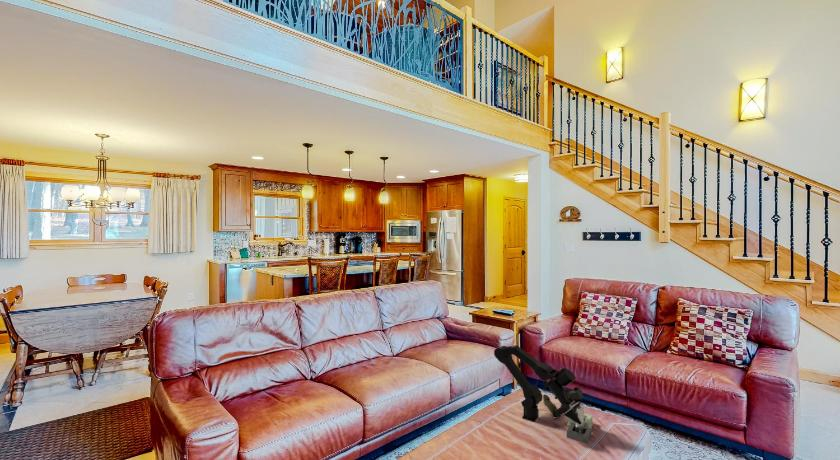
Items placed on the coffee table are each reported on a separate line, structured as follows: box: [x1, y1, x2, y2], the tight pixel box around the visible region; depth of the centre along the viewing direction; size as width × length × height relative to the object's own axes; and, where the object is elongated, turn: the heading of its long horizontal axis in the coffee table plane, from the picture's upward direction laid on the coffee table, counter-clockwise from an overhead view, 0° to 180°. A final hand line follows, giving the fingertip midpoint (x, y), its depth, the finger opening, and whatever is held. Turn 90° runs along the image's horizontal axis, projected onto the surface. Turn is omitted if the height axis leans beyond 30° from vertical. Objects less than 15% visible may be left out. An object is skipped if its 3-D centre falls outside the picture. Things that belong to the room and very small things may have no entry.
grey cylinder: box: [575, 405, 585, 434], centre depth 176 cm, size 4×4×13 cm
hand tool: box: [542, 393, 561, 418], centre depth 202 cm, size 19×4×5 cm, turn 179°
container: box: [566, 413, 594, 428], centre depth 186 cm, size 10×10×4 cm
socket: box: [566, 423, 593, 445], centre depth 176 cm, size 9×9×3 cm
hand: (582, 422), depth 175 cm, fingers closed on grey cylinder, 4 cm apart
